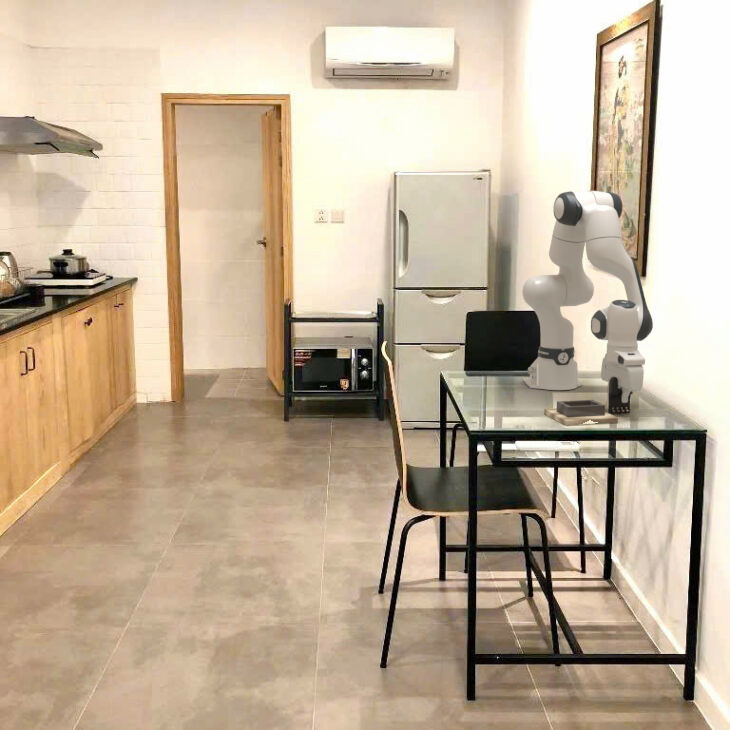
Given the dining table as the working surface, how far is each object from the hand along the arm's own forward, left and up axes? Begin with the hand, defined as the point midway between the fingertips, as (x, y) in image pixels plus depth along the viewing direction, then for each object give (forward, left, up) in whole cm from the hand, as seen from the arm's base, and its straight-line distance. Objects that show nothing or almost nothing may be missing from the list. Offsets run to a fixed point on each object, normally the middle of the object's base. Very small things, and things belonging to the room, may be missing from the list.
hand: (619, 400), depth 272 cm
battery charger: (0, 0, -4) cm, 4 cm away
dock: (+3, -14, -4) cm, 15 cm away
